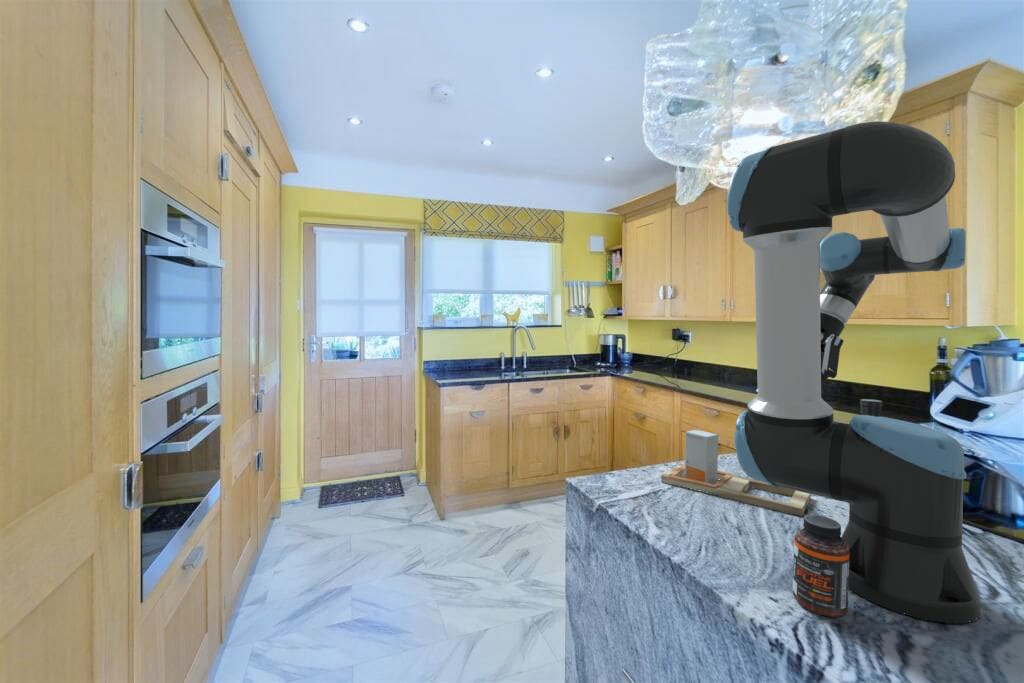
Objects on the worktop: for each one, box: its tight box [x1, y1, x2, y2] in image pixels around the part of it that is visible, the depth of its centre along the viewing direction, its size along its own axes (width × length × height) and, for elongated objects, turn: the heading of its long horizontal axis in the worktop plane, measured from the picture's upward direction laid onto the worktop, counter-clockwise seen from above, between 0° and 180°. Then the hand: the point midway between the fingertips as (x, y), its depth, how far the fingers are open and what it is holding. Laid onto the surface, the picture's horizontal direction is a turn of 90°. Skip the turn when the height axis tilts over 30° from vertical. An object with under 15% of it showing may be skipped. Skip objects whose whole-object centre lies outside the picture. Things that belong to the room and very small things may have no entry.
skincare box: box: [684, 429, 719, 484], centre depth 101 cm, size 6×4×12 cm
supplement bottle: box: [792, 514, 850, 618], centre depth 56 cm, size 6×6×11 cm
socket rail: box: [660, 463, 812, 517], centre depth 96 cm, size 12×28×2 cm, turn 48°
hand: (779, 398), depth 97 cm, fingers open, 13 cm apart
